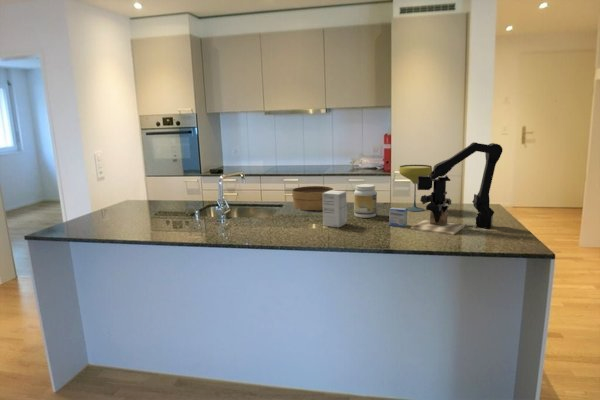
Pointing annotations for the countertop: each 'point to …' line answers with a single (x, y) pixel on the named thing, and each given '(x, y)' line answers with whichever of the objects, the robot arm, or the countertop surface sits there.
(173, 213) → the countertop surface
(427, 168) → the cocktail glass
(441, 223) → the block
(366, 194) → the supplement tub
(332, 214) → the supplement box
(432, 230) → the birch board
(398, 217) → the medicine box
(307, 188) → the steamer basket
